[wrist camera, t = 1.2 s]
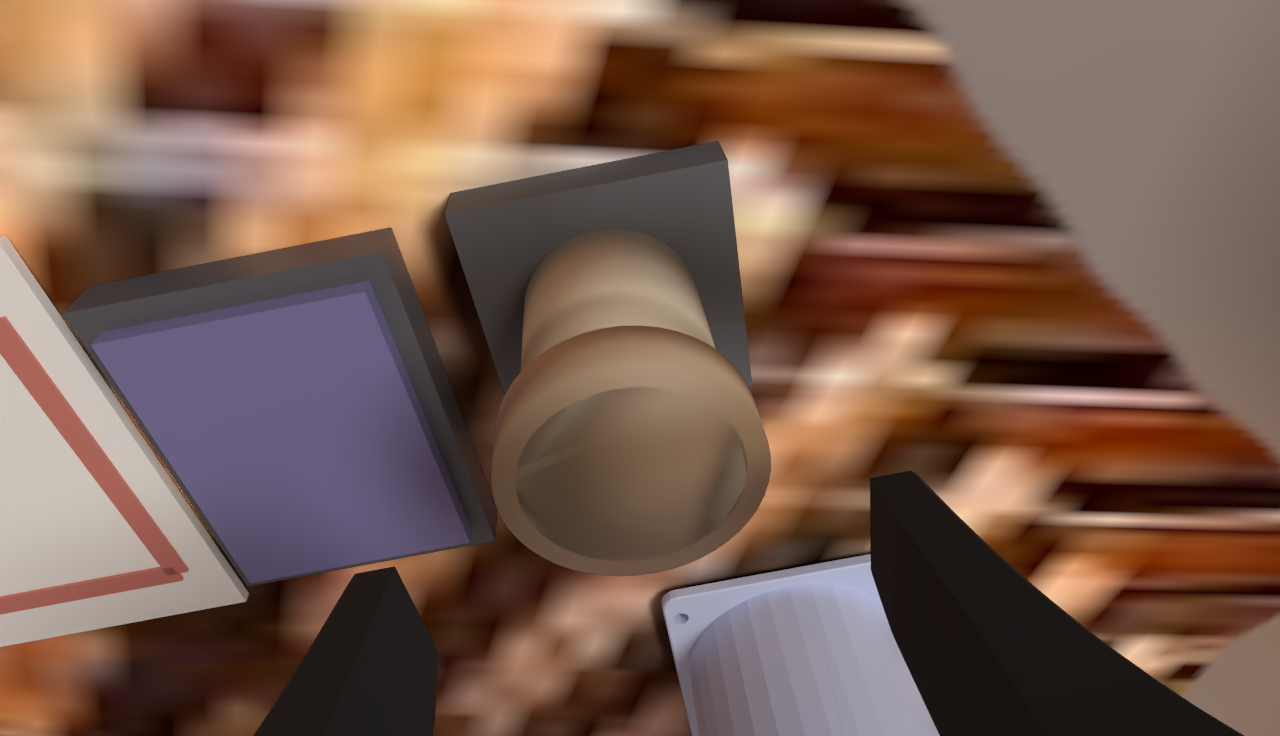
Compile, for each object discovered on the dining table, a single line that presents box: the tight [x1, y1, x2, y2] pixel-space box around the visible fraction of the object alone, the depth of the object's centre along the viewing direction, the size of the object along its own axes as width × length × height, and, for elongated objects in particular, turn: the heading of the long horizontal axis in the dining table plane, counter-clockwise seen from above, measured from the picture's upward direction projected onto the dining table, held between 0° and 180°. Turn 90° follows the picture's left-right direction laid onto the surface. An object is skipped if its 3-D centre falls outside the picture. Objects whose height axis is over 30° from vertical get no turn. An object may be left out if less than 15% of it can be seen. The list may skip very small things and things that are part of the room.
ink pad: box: [63, 228, 497, 586], centre depth 20 cm, size 9×7×2 cm
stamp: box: [445, 141, 771, 576], centre depth 17 cm, size 6×6×7 cm
